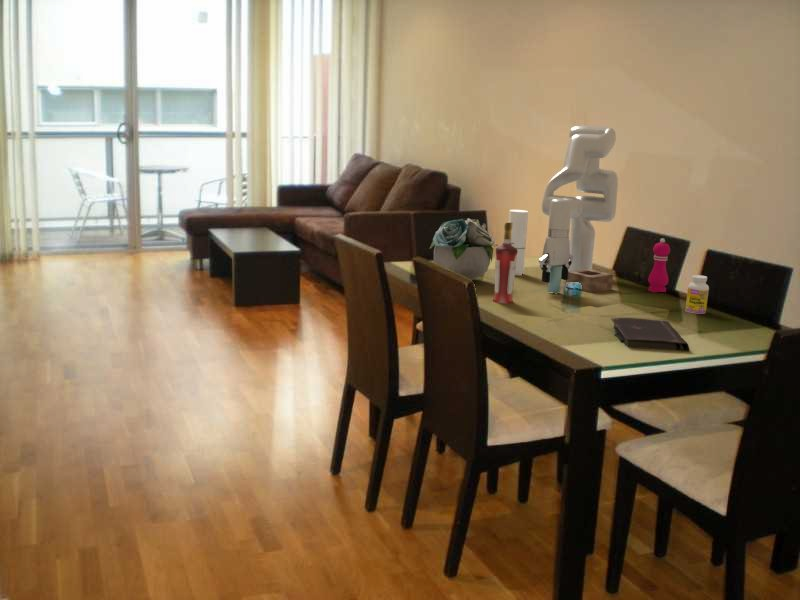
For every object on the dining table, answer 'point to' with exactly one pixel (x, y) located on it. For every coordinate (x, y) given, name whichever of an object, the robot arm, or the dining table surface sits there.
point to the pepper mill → (659, 268)
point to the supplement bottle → (697, 295)
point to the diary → (648, 334)
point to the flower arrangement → (463, 247)
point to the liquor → (505, 268)
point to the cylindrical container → (519, 236)
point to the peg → (555, 279)
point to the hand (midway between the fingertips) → (554, 280)
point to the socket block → (591, 279)
